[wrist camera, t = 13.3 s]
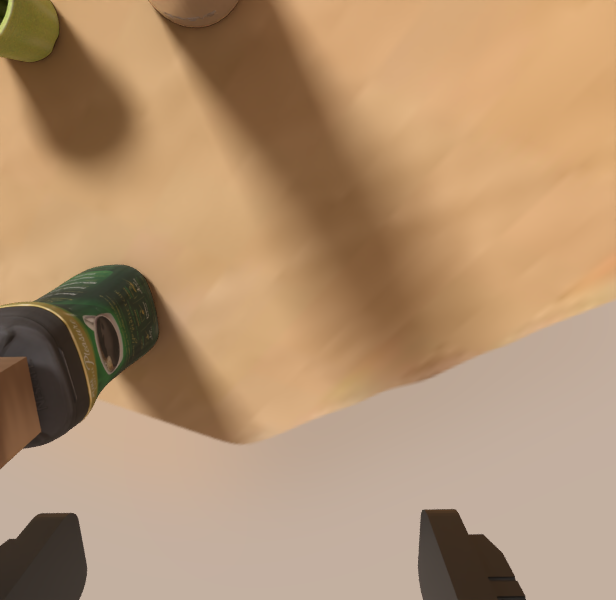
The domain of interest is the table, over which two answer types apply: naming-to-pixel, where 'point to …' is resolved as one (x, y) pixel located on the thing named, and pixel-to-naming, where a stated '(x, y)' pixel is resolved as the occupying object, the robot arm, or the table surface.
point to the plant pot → (27, 29)
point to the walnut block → (16, 408)
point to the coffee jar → (79, 341)
